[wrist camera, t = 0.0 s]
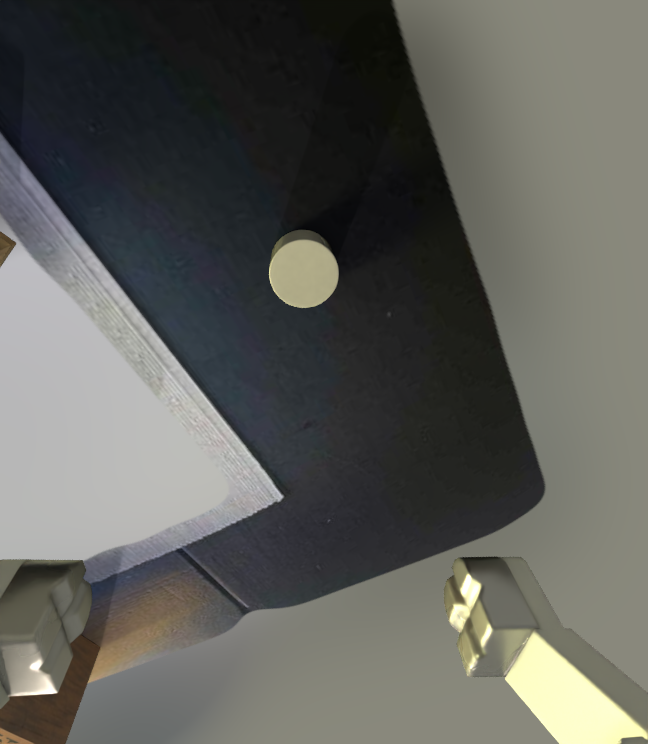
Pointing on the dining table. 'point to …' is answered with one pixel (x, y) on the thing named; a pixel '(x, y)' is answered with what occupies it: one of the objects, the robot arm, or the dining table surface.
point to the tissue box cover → (50, 704)
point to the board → (5, 247)
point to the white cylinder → (303, 269)
